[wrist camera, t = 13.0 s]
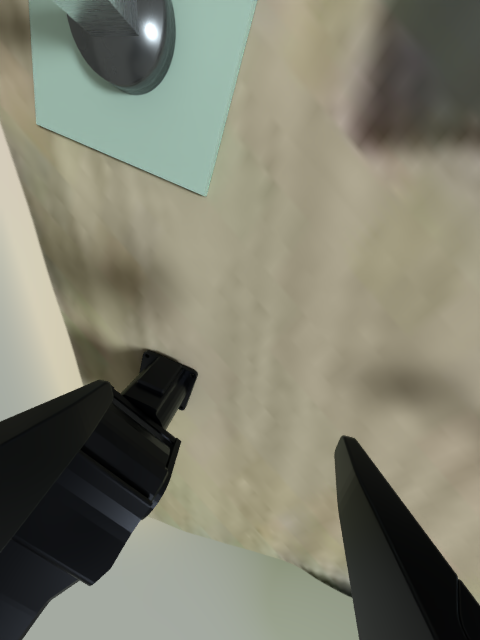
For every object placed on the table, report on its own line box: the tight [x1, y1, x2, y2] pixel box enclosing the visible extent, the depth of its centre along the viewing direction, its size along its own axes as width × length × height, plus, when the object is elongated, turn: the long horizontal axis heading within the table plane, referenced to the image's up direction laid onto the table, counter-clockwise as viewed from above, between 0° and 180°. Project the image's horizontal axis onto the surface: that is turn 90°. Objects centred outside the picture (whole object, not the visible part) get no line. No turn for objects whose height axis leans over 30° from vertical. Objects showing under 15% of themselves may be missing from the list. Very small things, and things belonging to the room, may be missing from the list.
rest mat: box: [29, 0, 257, 196], centre depth 14 cm, size 14×14×1 cm
